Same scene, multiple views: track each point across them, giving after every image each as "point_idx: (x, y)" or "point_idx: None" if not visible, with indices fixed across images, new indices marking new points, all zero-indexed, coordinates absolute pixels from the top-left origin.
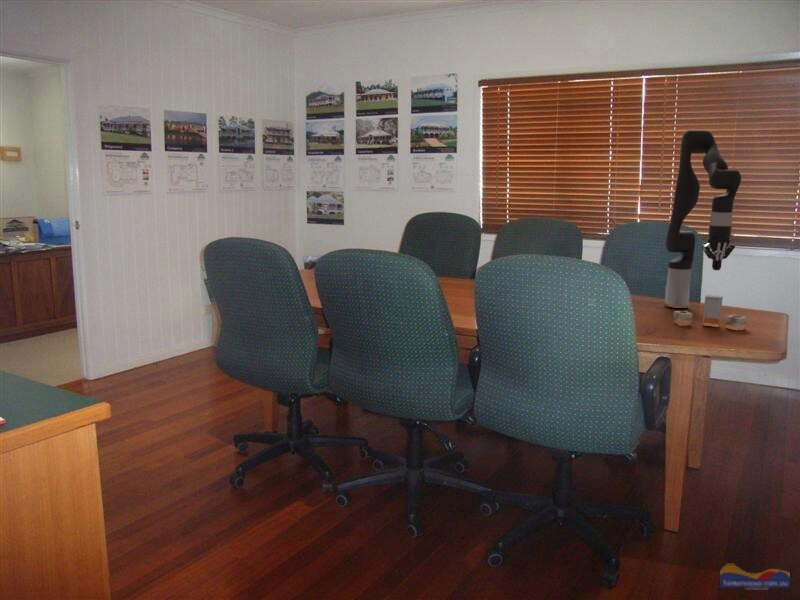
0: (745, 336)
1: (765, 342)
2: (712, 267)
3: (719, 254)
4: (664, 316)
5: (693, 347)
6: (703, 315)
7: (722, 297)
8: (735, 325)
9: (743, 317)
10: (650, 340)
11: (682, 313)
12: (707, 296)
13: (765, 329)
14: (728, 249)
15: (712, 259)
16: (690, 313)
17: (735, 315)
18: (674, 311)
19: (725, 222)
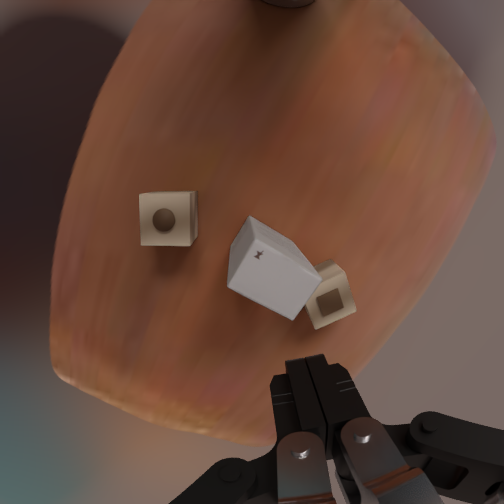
0: (294, 358)
1: None
2: (271, 386)
3: (393, 472)
4: (171, 90)
5: (132, 412)
6: (229, 256)
7: (308, 298)
8: (307, 312)
9: (343, 314)
10: (61, 357)
11: (153, 238)
12: (236, 290)
13: (393, 290)
14: (482, 495)
15: (269, 456)
16: (184, 240)
17: (331, 296)
18: (139, 197)
19: None
